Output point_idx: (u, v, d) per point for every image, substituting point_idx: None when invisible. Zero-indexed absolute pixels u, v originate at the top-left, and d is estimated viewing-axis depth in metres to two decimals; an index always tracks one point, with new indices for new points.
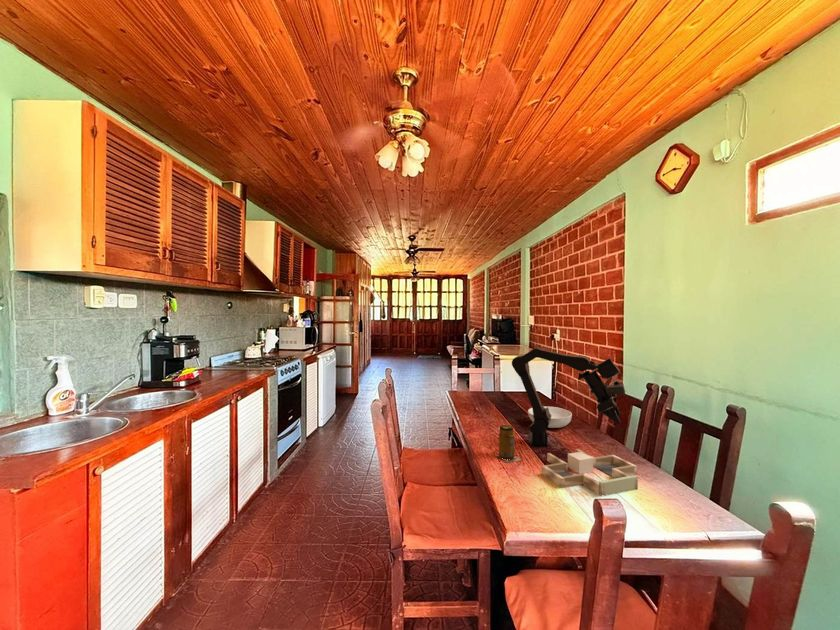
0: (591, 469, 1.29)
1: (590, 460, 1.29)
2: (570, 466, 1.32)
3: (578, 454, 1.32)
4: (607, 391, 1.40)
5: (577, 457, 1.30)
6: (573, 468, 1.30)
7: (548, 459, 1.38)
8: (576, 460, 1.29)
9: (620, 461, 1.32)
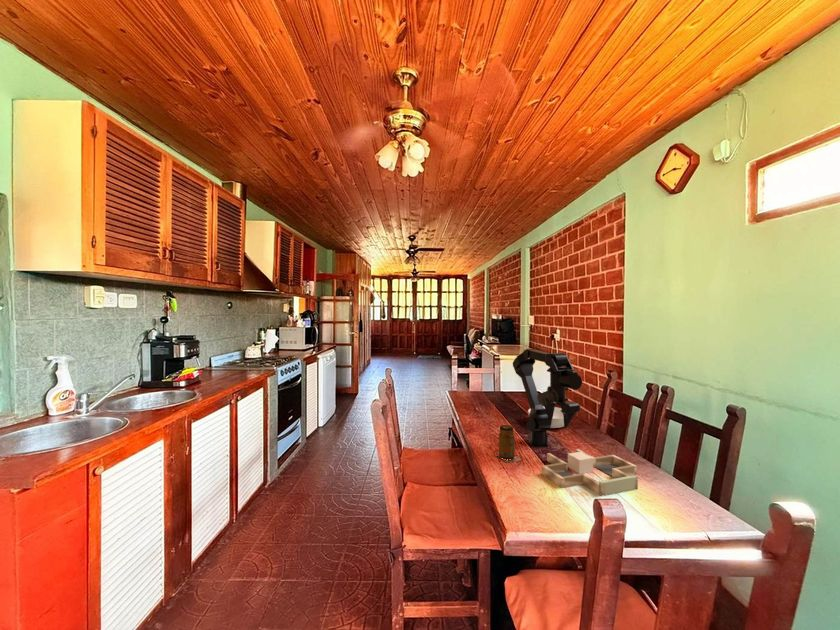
0: (591, 469, 1.29)
1: (590, 460, 1.29)
2: (570, 466, 1.32)
3: (578, 454, 1.32)
4: None
5: (577, 457, 1.30)
6: (573, 468, 1.30)
7: (548, 459, 1.38)
8: (576, 460, 1.29)
9: (620, 461, 1.32)
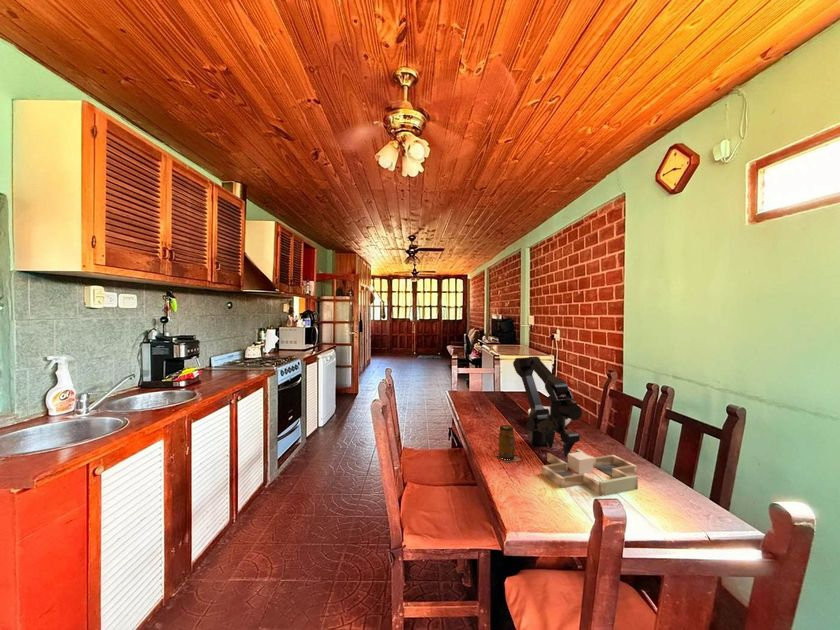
0: (591, 469, 1.29)
1: (590, 460, 1.29)
2: (570, 466, 1.32)
3: (578, 454, 1.32)
4: None
5: (577, 457, 1.30)
6: (573, 468, 1.30)
7: (548, 459, 1.38)
8: (576, 460, 1.29)
9: (620, 461, 1.32)
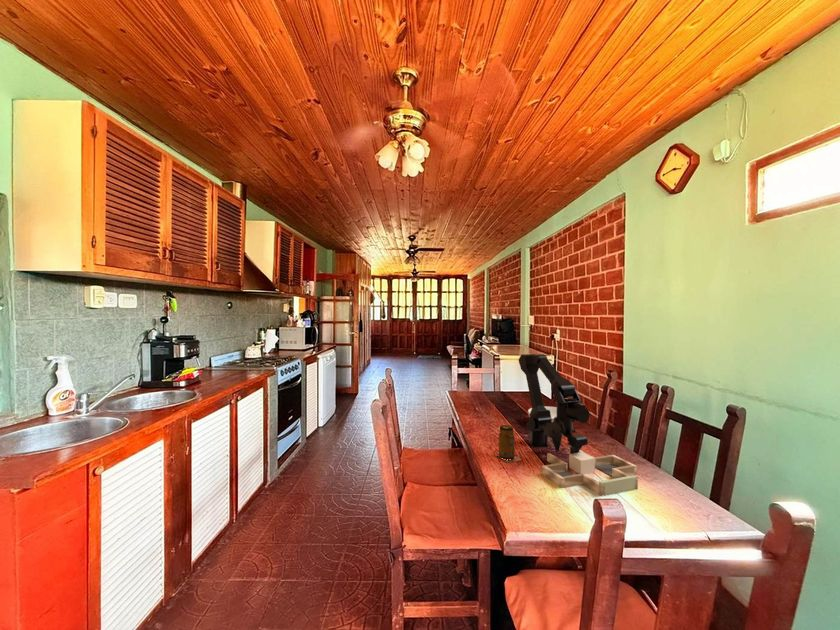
0: (593, 470, 1.28)
1: (592, 460, 1.28)
2: (572, 466, 1.31)
3: (580, 455, 1.32)
4: None
5: (579, 457, 1.29)
6: (575, 468, 1.30)
7: (548, 459, 1.38)
8: (578, 460, 1.28)
9: (620, 461, 1.32)
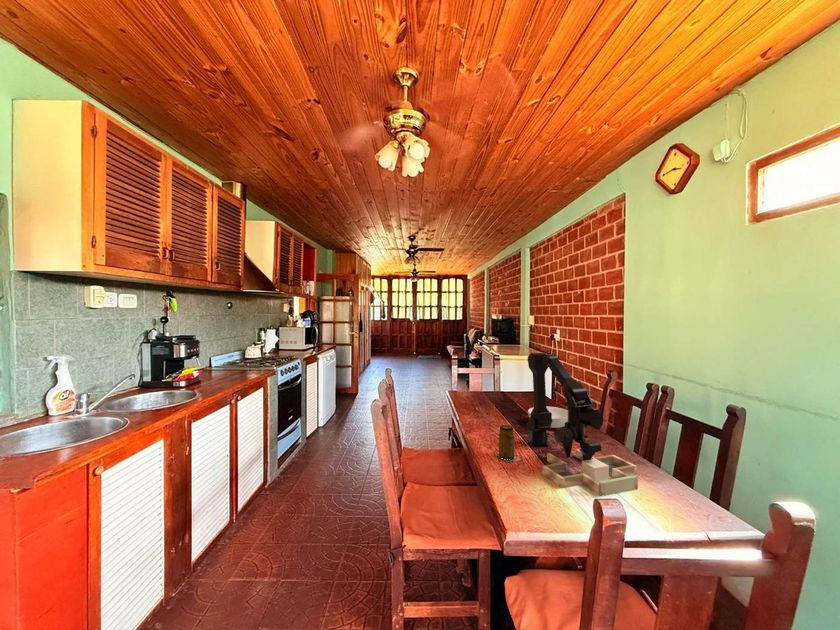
0: (607, 477, 1.22)
1: (606, 468, 1.22)
2: None
3: (593, 462, 1.25)
4: None
5: (592, 465, 1.23)
6: None
7: (548, 459, 1.38)
8: (591, 468, 1.22)
9: (620, 461, 1.32)
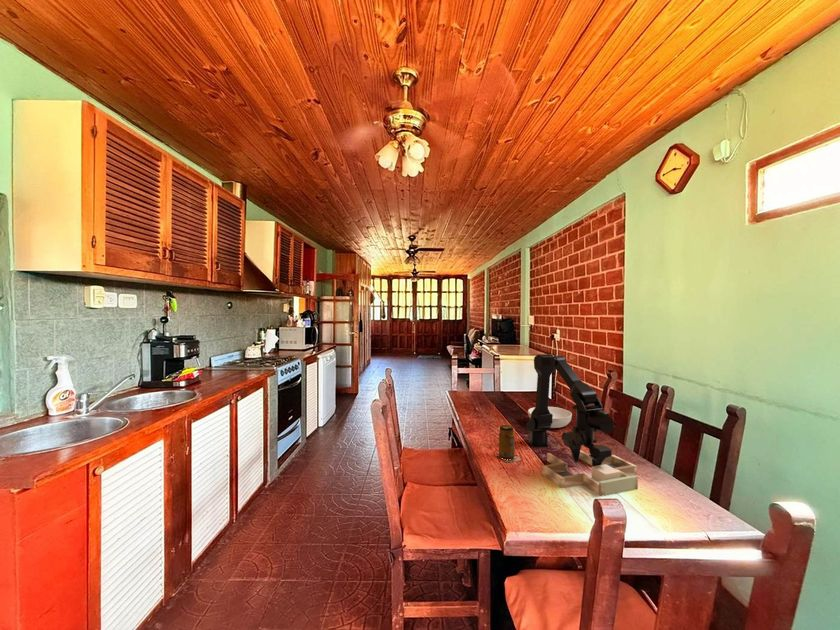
0: None
1: (617, 474, 1.18)
2: None
3: (603, 467, 1.21)
4: None
5: (602, 471, 1.18)
6: None
7: (548, 459, 1.38)
8: (602, 474, 1.17)
9: (620, 461, 1.32)
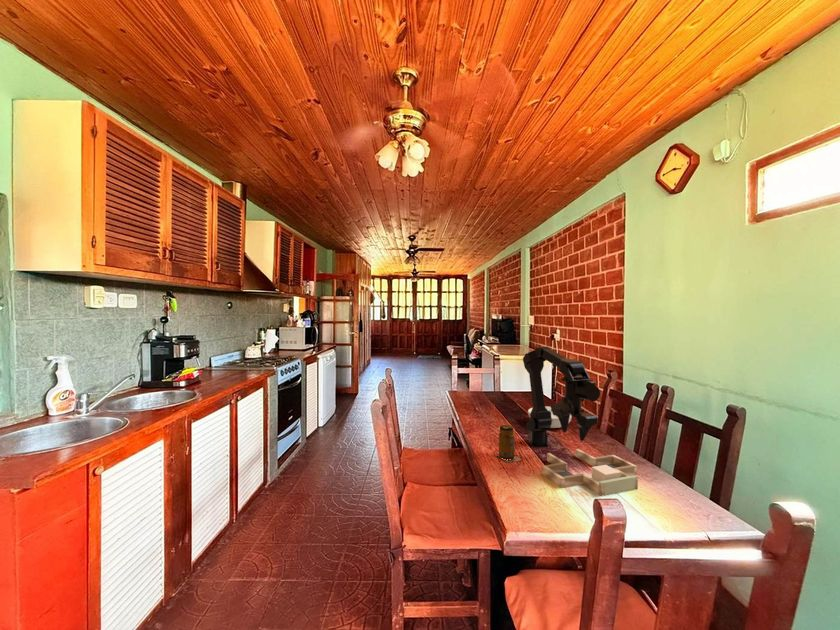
0: None
1: (617, 474, 1.18)
2: None
3: (603, 468, 1.21)
4: None
5: (603, 471, 1.18)
6: None
7: (548, 459, 1.38)
8: (602, 474, 1.17)
9: (620, 461, 1.32)
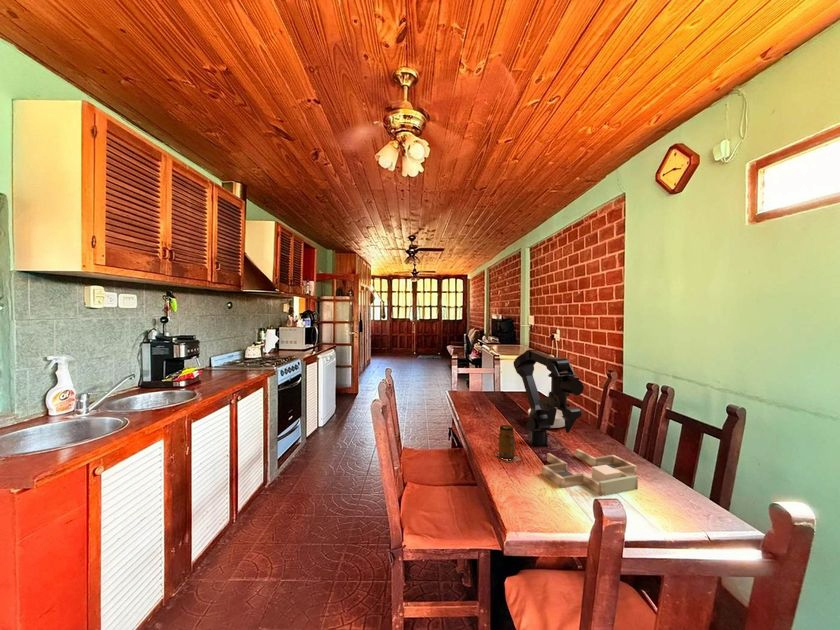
0: None
1: (617, 474, 1.18)
2: None
3: (603, 468, 1.21)
4: None
5: (603, 471, 1.18)
6: None
7: (548, 459, 1.38)
8: (602, 474, 1.17)
9: (620, 461, 1.32)
